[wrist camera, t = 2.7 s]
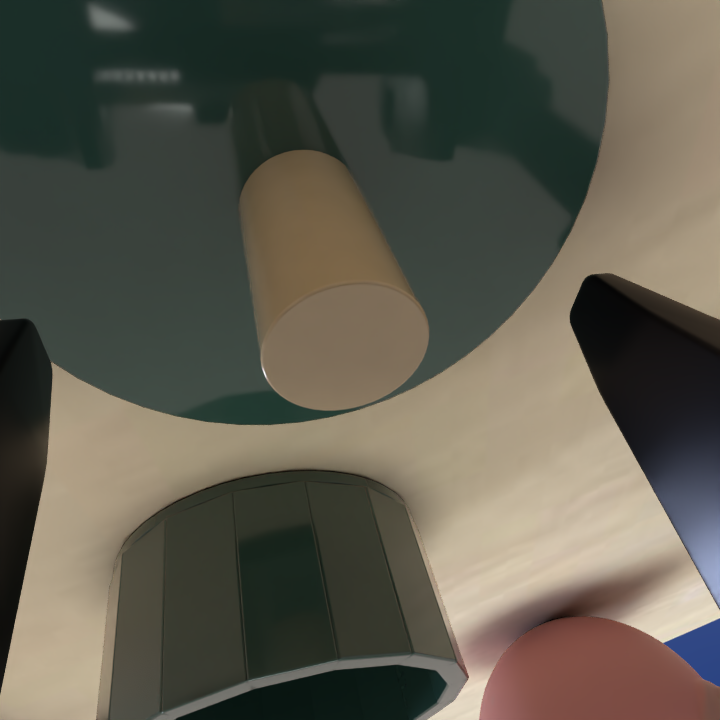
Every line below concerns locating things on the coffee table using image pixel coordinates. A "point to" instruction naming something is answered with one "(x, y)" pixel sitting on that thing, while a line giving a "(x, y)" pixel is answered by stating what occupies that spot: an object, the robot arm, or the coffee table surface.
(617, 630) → the balloon
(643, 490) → the coffee table surface
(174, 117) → the lid
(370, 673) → the canister
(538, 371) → the coffee table surface
